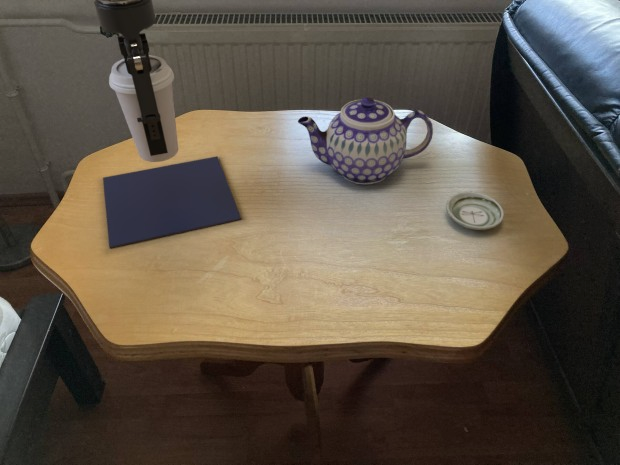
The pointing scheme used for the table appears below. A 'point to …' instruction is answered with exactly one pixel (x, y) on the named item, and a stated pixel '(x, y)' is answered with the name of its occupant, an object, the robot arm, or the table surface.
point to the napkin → (167, 201)
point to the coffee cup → (131, 109)
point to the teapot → (365, 140)
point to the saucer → (474, 210)
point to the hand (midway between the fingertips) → (155, 140)
